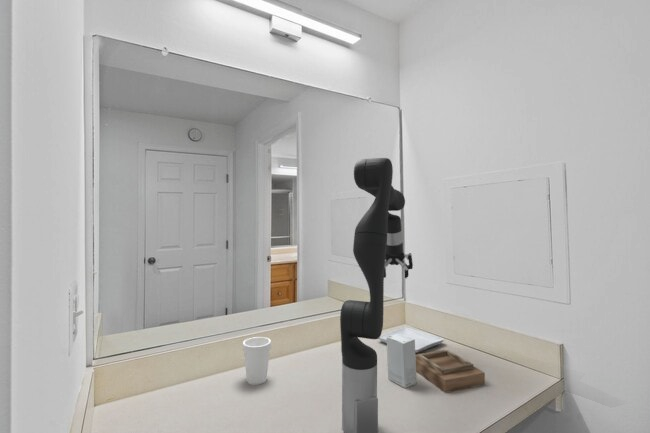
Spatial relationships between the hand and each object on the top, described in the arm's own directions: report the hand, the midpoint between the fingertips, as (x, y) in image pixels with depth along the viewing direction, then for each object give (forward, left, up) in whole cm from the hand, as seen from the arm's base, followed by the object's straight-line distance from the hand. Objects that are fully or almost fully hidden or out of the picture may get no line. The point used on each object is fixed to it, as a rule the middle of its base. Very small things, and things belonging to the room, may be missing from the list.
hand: (395, 277), depth 140 cm
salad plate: (+5, -10, -31) cm, 33 cm away
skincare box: (-23, +12, -31) cm, 40 cm away
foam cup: (-6, +58, -31) cm, 66 cm away
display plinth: (-24, -5, -31) cm, 39 cm away
